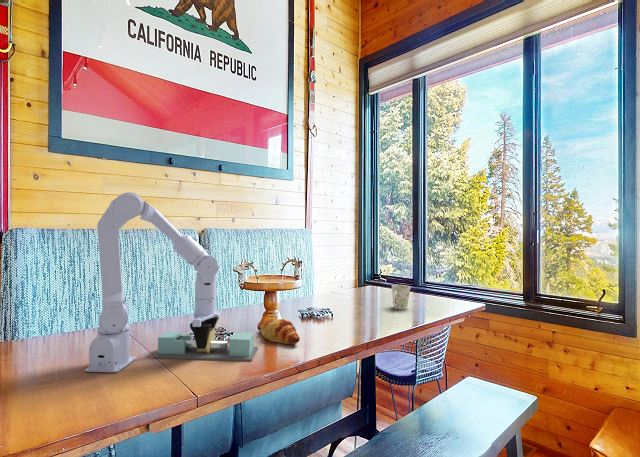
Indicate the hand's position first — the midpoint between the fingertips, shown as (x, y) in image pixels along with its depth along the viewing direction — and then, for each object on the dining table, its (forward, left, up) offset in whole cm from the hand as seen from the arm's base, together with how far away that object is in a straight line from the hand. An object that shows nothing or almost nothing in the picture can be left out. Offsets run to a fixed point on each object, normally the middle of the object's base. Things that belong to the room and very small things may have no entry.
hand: (204, 345), depth 105 cm
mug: (+63, -68, -2) cm, 93 cm away
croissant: (+16, -20, -3) cm, 25 cm away
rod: (0, +1, -1) cm, 2 cm away
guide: (0, -1, -2) cm, 2 cm away
